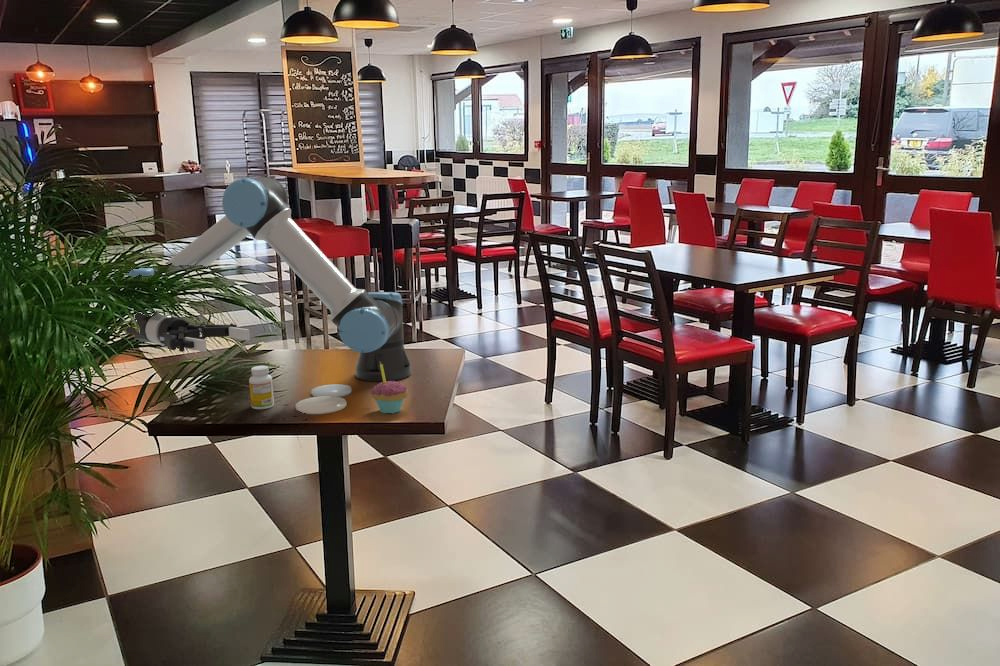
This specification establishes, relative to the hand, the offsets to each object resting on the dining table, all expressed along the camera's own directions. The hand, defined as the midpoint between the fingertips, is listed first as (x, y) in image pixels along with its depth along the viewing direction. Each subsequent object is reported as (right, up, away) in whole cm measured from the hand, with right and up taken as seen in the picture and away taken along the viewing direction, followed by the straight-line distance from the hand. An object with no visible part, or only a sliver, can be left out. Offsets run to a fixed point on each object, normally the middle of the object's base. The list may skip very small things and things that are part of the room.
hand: (227, 340), depth 198 cm
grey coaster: (+24, -13, +9) cm, 29 cm away
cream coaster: (+23, -16, -2) cm, 28 cm away
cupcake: (+41, -17, -6) cm, 44 cm away
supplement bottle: (+9, -16, -1) cm, 19 cm away
